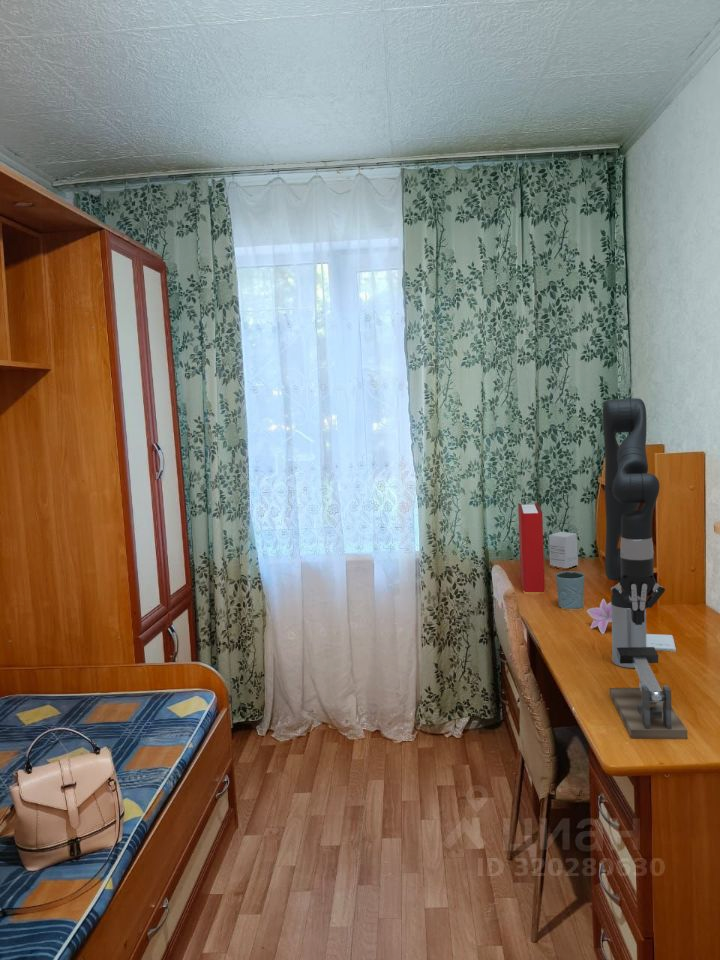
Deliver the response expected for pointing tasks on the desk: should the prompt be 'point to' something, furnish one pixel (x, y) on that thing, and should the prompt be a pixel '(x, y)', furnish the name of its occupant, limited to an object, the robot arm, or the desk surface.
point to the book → (531, 547)
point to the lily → (601, 616)
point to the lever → (643, 668)
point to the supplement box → (563, 549)
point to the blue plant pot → (570, 589)
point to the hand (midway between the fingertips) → (637, 623)
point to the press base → (647, 714)
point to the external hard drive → (660, 642)
